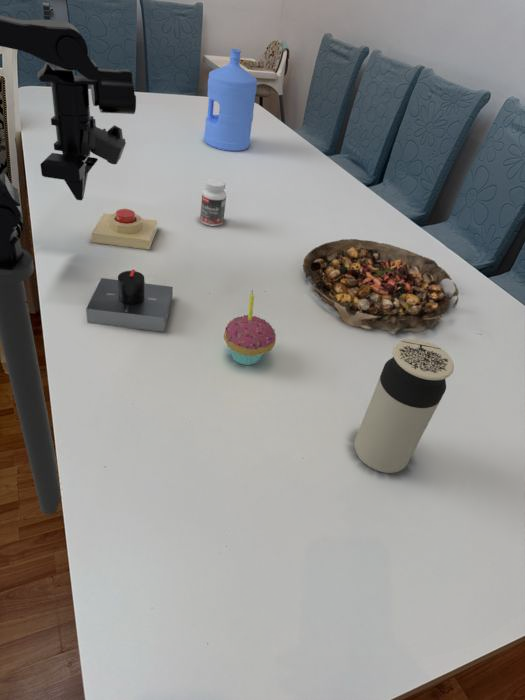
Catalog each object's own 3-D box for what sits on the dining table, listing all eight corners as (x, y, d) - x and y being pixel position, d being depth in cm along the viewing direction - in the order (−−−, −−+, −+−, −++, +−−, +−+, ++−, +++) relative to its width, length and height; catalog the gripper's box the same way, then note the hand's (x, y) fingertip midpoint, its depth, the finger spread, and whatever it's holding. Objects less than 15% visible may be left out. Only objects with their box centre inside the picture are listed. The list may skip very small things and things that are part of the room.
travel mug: (406, 481, 68) (457, 387, 57) (350, 464, 69) (389, 367, 58) (408, 440, 74) (455, 347, 63) (357, 424, 75) (393, 330, 64)
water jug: (251, 141, 176) (263, 51, 159) (246, 155, 164) (257, 58, 146) (208, 133, 176) (215, 42, 159) (199, 146, 164) (205, 49, 146)
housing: (92, 242, 106) (91, 224, 103) (104, 222, 113) (103, 205, 111) (149, 249, 107) (149, 232, 104) (157, 229, 115) (157, 212, 112)
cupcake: (215, 343, 85) (222, 284, 78) (261, 338, 88) (271, 280, 81) (230, 376, 79) (239, 315, 72) (279, 369, 82) (292, 310, 75)
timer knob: (142, 305, 86) (141, 284, 83) (116, 302, 85) (115, 281, 83) (146, 291, 89) (146, 270, 86) (121, 288, 89) (120, 267, 86)
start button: (114, 223, 106) (113, 215, 105) (118, 215, 109) (118, 207, 108) (133, 225, 106) (132, 218, 105) (136, 217, 110) (136, 210, 109)
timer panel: (87, 323, 85) (85, 308, 83) (102, 291, 92) (101, 277, 90) (164, 332, 86) (164, 317, 84) (172, 300, 93) (172, 285, 92)
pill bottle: (196, 223, 120) (199, 183, 114) (204, 214, 124) (207, 175, 118) (219, 228, 119) (223, 188, 113) (226, 219, 124) (230, 180, 118)
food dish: (406, 364, 90) (419, 330, 85) (268, 286, 105) (273, 254, 100) (479, 294, 112) (493, 264, 107) (356, 238, 127) (363, 210, 122)
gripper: (107, 134, 77) (111, 227, 87) (131, 105, 92) (133, 187, 102) (33, 123, 76) (46, 218, 86) (70, 95, 91) (77, 179, 101)
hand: (79, 199), depth 94 cm, fingers closed
